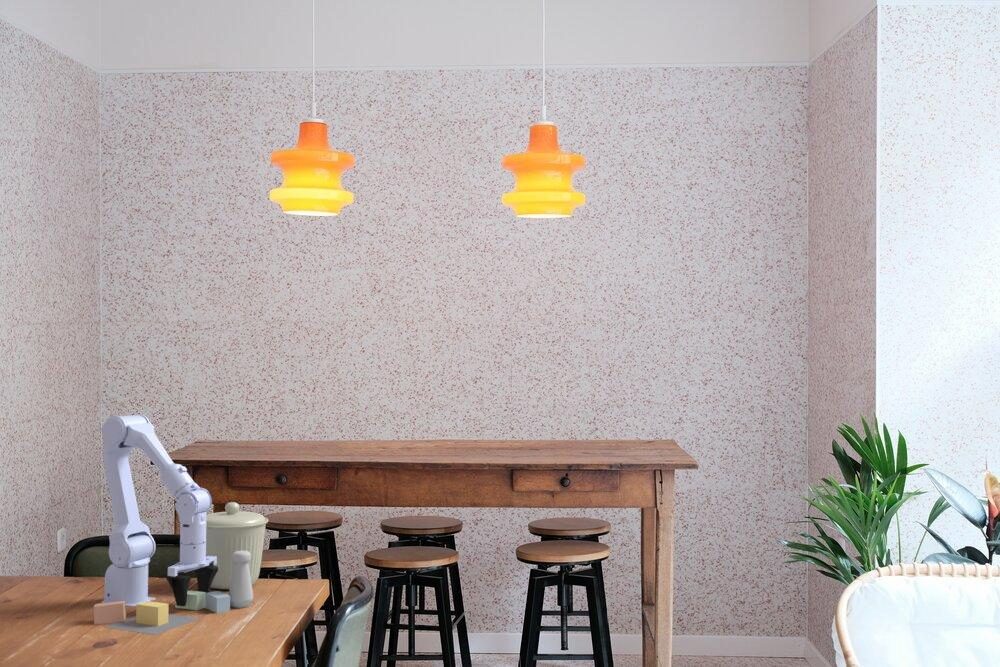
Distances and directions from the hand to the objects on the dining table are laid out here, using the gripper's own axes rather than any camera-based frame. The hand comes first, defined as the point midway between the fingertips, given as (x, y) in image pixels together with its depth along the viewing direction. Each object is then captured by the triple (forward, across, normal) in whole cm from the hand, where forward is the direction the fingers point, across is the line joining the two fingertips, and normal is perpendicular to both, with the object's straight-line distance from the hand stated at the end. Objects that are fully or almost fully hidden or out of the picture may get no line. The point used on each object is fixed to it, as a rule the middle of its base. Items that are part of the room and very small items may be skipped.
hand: (192, 601), depth 229 cm
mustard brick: (+1, -14, -1) cm, 14 cm away
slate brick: (+2, +1, -6) cm, 7 cm away
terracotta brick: (+1, -17, +8) cm, 19 cm away
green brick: (+2, 0, 0) cm, 2 cm away
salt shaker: (+2, +6, -9) cm, 11 cm away
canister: (+2, +23, +7) cm, 24 cm away
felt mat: (+2, -14, -1) cm, 14 cm away
